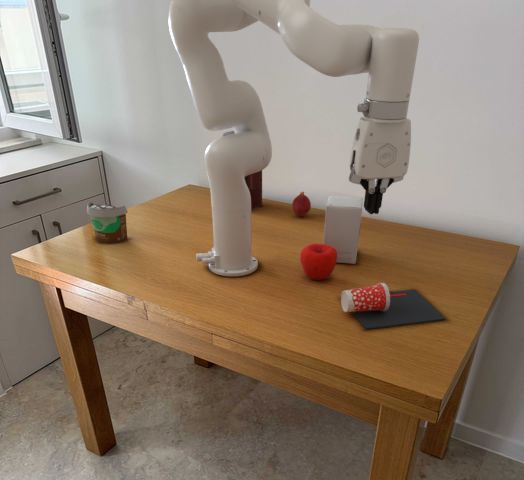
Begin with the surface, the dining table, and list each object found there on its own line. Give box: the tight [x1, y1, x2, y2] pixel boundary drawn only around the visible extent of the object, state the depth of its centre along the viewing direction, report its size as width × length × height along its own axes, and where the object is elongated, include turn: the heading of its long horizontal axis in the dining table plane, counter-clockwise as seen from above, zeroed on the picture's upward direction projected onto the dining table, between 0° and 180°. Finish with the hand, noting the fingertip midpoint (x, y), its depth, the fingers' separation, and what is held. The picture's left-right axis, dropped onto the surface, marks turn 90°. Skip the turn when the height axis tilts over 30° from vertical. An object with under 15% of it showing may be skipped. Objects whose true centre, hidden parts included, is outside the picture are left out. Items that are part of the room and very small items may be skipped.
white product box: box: [322, 195, 364, 265], centre depth 133 cm, size 9×9×15 cm
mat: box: [352, 289, 446, 331], centre depth 113 cm, size 18×14×1 cm
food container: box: [86, 200, 128, 244], centre depth 144 cm, size 12×6×10 cm, turn 68°
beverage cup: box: [340, 282, 406, 313], centre depth 110 cm, size 6×6×14 cm
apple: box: [299, 243, 337, 281], centre depth 124 cm, size 9×9×8 cm
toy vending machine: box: [222, 130, 263, 211], centre depth 165 cm, size 9×11×28 cm
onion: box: [292, 190, 312, 218], centre depth 162 cm, size 6×6×8 cm
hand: (371, 211), depth 101 cm, fingers closed
